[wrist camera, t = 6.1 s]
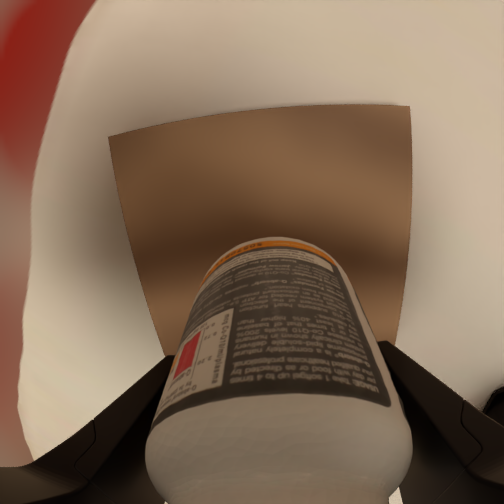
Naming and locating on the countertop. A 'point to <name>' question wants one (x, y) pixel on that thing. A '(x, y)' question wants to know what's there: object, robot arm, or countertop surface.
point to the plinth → (269, 199)
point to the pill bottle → (278, 389)
